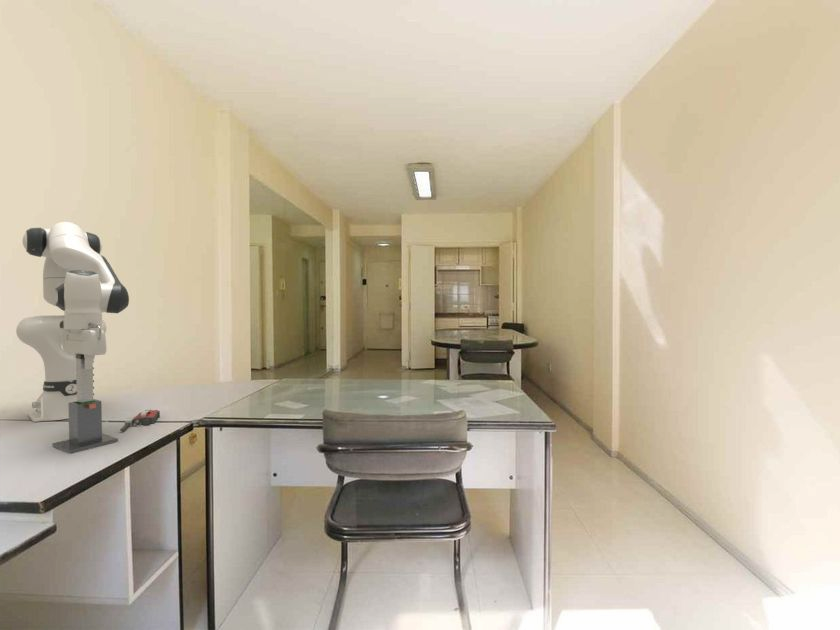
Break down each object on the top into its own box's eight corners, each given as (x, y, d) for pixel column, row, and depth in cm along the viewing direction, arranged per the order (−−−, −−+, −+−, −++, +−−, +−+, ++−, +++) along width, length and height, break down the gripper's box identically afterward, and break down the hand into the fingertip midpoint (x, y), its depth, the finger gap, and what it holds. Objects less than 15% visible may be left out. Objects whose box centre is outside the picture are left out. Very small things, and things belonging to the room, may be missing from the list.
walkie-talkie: (134, 419, 151) (117, 434, 133) (134, 407, 151) (117, 421, 133) (161, 416, 154) (148, 431, 136) (161, 405, 154) (148, 418, 136)
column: (76, 420, 122) (75, 355, 121) (90, 417, 125) (89, 353, 124) (81, 421, 120) (80, 355, 120) (95, 419, 123) (94, 354, 123)
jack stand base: (52, 446, 120) (51, 403, 120) (99, 435, 130) (99, 395, 130) (69, 453, 114) (69, 408, 114) (118, 441, 125) (117, 400, 124)
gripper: (112, 323, 119) (113, 369, 120) (81, 322, 129) (82, 364, 130) (87, 324, 114) (87, 372, 114) (56, 323, 124) (57, 367, 124)
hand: (84, 368), depth 122 cm, fingers closed on column, 3 cm apart
